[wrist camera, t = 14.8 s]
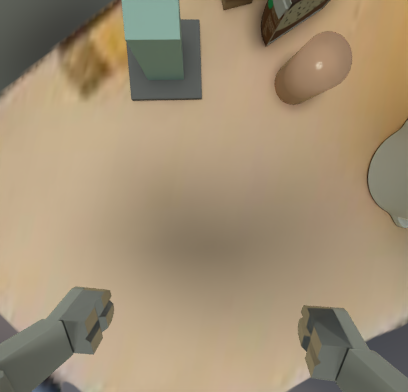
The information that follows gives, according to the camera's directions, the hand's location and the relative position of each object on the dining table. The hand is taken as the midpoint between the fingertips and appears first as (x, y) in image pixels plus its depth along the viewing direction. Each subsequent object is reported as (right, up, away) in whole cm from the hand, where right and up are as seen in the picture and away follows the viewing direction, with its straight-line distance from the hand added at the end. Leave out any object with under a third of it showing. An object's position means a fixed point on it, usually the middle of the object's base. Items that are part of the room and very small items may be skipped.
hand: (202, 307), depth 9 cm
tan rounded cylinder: (+14, +22, +24) cm, 35 cm away
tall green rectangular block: (-5, +24, +21) cm, 32 cm away
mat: (-5, +24, +22) cm, 33 cm away
